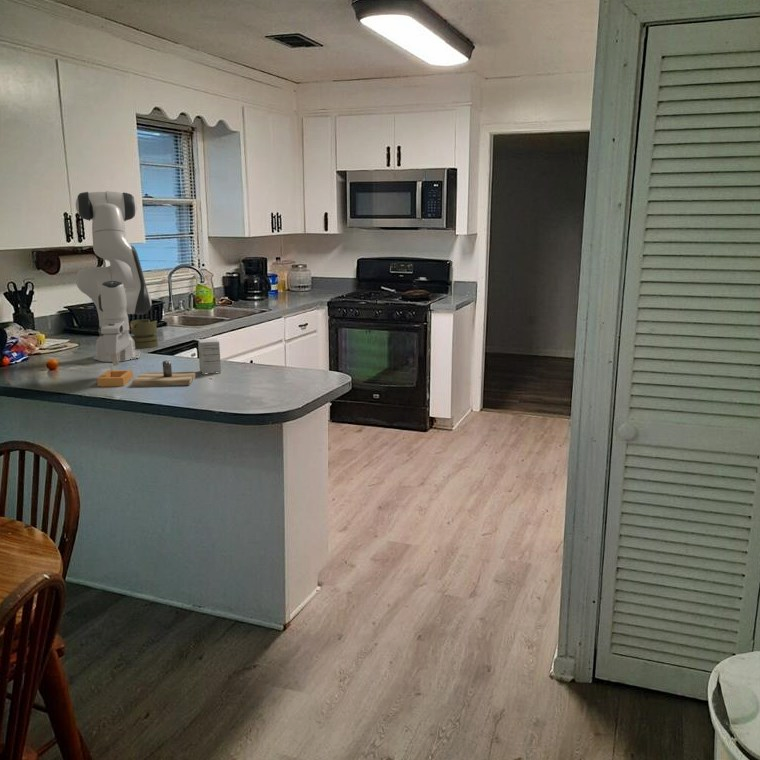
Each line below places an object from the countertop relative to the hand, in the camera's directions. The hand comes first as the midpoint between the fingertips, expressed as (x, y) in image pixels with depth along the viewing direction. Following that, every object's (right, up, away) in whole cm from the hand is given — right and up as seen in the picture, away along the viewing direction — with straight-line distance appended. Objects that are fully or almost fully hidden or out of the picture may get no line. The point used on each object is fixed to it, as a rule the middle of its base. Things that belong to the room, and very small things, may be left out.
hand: (119, 362), depth 264 cm
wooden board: (+18, -7, -3) cm, 20 cm away
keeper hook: (+19, -5, -4) cm, 20 cm away
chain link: (0, -7, -4) cm, 8 cm away
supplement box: (+31, -4, +12) cm, 33 cm away
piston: (-13, +9, +67) cm, 69 cm away
